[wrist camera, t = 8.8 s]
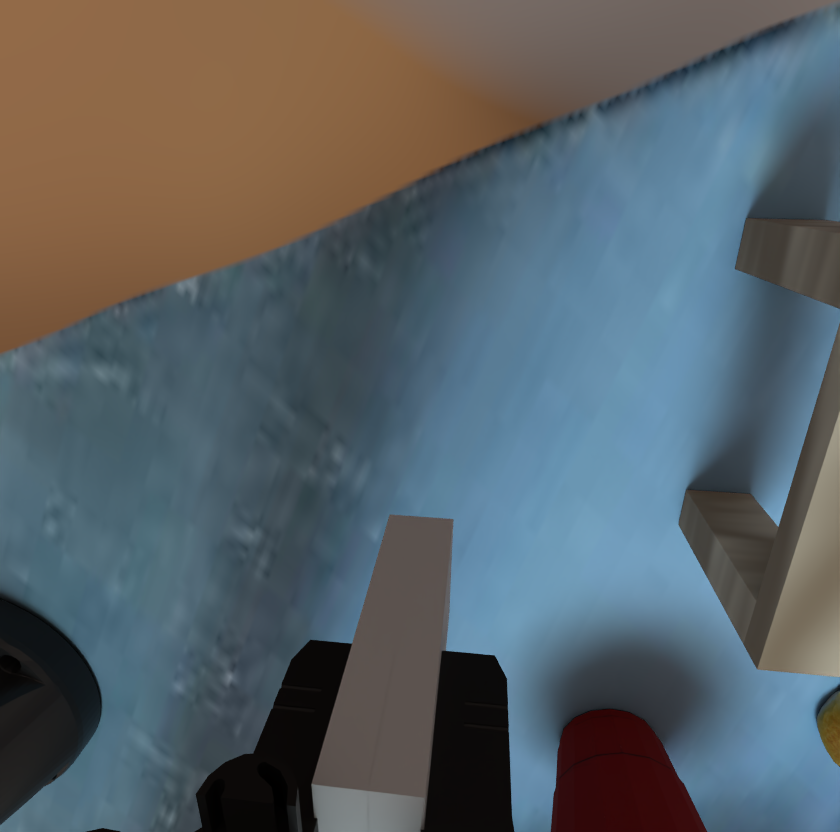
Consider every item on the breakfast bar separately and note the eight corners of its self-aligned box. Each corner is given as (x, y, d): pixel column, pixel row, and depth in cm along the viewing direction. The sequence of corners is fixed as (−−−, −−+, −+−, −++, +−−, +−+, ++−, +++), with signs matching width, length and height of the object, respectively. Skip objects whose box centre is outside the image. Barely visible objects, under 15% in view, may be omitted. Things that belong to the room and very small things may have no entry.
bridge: (678, 524, 29) (756, 669, 20) (746, 218, 23) (893, 242, 15) (741, 529, 29) (847, 677, 20) (825, 219, 23) (1021, 246, 15)
